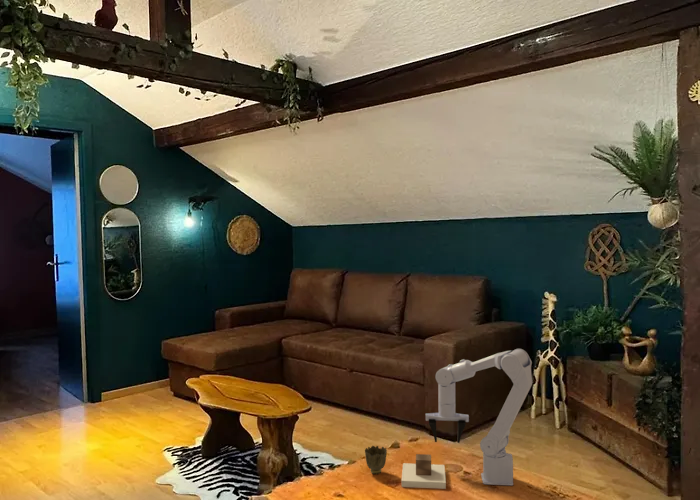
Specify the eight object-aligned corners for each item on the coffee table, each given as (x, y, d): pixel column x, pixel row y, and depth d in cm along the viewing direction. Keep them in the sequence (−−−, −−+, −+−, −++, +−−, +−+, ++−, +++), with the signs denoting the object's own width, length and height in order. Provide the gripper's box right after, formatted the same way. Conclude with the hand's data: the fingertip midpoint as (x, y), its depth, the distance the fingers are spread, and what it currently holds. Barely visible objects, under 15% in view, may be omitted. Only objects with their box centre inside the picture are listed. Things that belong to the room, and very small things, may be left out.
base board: (444, 470, 206) (444, 464, 206) (445, 488, 192) (445, 482, 192) (403, 468, 207) (403, 463, 207) (401, 486, 194) (401, 480, 193)
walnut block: (431, 469, 202) (431, 454, 202) (431, 475, 197) (431, 460, 197) (416, 468, 203) (416, 454, 202) (415, 475, 198) (415, 459, 197)
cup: (361, 474, 203) (360, 451, 203) (370, 466, 210) (370, 444, 209) (381, 479, 200) (381, 455, 199) (390, 470, 206) (390, 447, 206)
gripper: (467, 399, 209) (467, 437, 210) (425, 398, 211) (425, 436, 212) (469, 405, 202) (469, 445, 203) (425, 404, 204) (425, 443, 205)
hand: (447, 441), depth 207 cm, fingers open, 7 cm apart
